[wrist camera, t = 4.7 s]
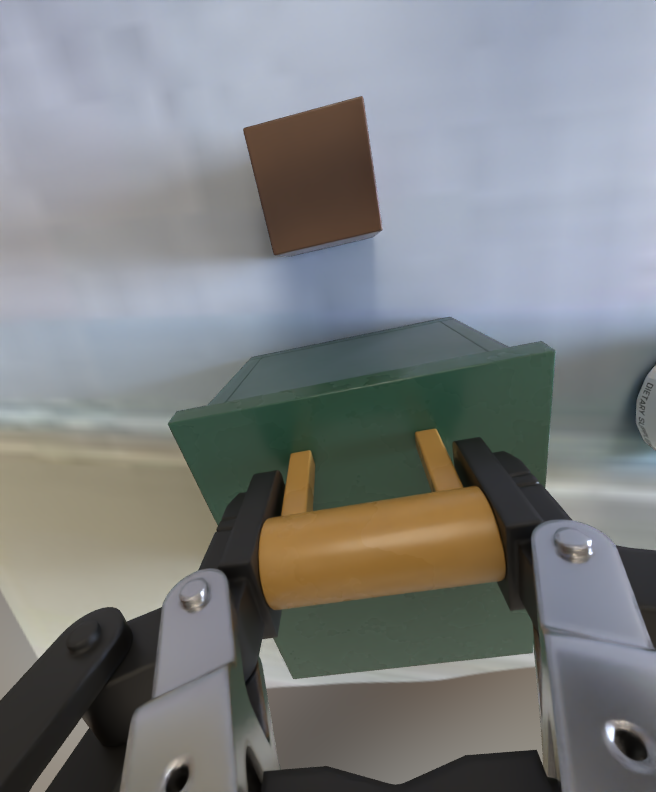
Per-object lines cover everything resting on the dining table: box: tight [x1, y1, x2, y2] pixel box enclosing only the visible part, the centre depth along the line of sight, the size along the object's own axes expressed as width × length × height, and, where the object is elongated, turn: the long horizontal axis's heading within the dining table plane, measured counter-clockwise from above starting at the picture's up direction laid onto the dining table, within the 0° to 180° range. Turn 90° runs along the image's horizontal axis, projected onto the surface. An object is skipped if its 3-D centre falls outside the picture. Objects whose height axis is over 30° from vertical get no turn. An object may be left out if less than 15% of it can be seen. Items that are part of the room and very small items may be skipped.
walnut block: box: [243, 96, 383, 256], centre depth 17 cm, size 5×5×5 cm
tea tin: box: [208, 317, 509, 405], centre depth 20 cm, size 15×12×8 cm
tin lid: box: [168, 341, 556, 679], centre depth 13 cm, size 15×12×6 cm
